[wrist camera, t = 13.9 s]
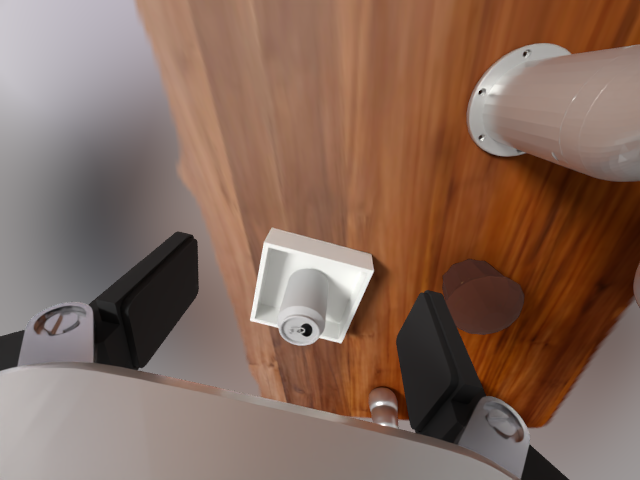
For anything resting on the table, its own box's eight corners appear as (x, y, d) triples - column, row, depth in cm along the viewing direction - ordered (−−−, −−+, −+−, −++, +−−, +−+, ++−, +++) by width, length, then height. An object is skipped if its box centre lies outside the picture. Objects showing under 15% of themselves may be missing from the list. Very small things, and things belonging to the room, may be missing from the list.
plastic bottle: (367, 383, 66) (374, 489, 48) (395, 383, 65) (413, 491, 47) (368, 399, 69) (376, 504, 51) (395, 399, 68) (412, 506, 51)
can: (326, 299, 52) (322, 352, 42) (288, 294, 53) (274, 346, 42) (330, 268, 49) (326, 317, 38) (289, 263, 49) (274, 311, 38)
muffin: (479, 240, 45) (512, 277, 36) (515, 279, 48) (553, 321, 39) (420, 279, 49) (436, 320, 41) (456, 312, 53) (477, 357, 44)
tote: (371, 254, 48) (373, 270, 43) (341, 323, 56) (341, 343, 52) (271, 227, 47) (264, 241, 42) (257, 302, 56) (250, 320, 51)
